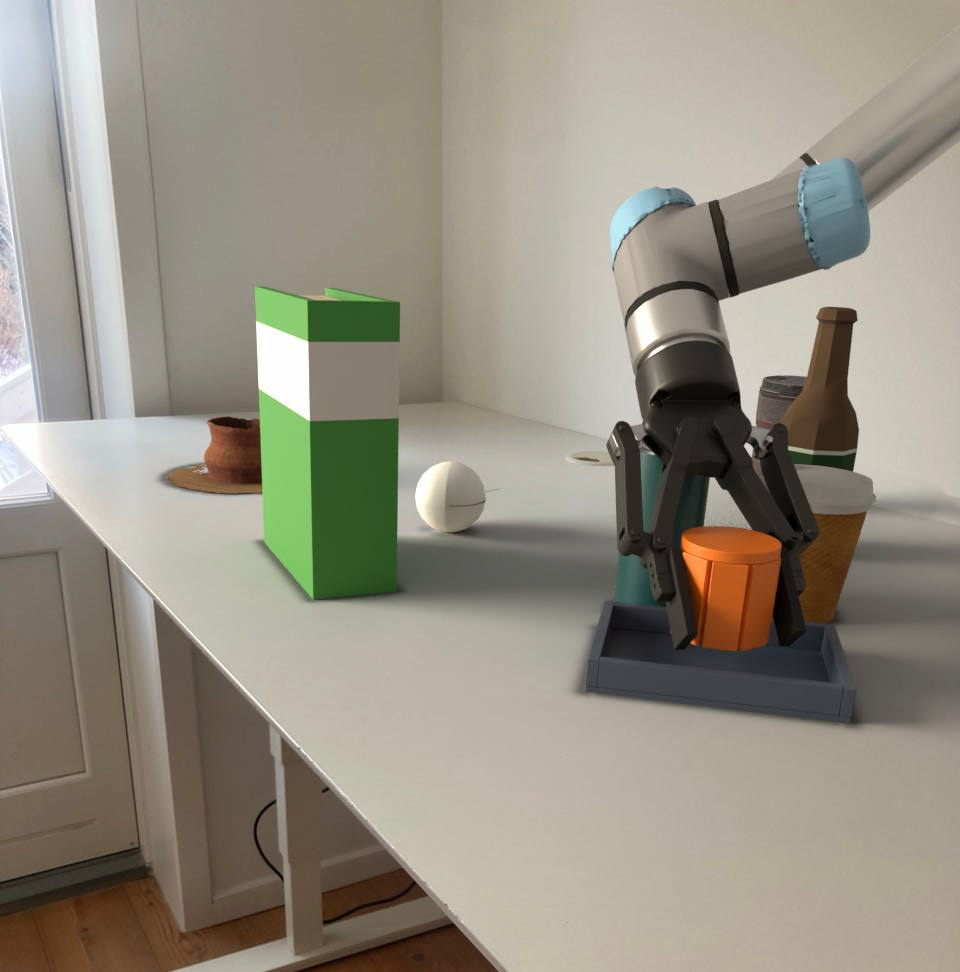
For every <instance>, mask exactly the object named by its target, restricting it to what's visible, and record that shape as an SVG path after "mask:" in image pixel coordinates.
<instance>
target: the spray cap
mask: <svg viewBox="0 0 960 972" xmlns="http://www.w3.org/2000/svg"><path fill="white" fill-rule="evenodd" d="M680 548H682V553H683V558H684V563H685V568H686V574H687V579H688V584H689V589H690V594H691V599H692V605H693V610H694V615H695V620H696V625H697V630H698V635H697V636H696V637H695V638H694V639H693V640H692V641H691V644H693V645H695V646H698V645H702V648H711V649H719V650H728V651H737V649H738V650H740V651H745V650H749V649H753V648H757V647H761V646H765V645H766V644H768V640H769V634H770V628H771V621H772V615H773V609H774V602H775V596H776V590H777V583H778V577H779V571H780V564H781V558H780V554H781V548H782V544H781V542H780V541H779V540H777V539H776V538H774V537H772V536H770V535H767V534H765V533H761V532H758V531H754V530H752V529H748V528H743V527H734V526H721V525H707V526H706V525H704V527H696V528H692V529H688V530H686V531H684V532H683V534H682V538H681V546H680Z"/></svg>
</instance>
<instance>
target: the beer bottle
mask: <svg viewBox="0 0 960 972" xmlns="http://www.w3.org/2000/svg"><path fill="white" fill-rule="evenodd" d="M817 312H818V313H817V314H816V316H815V319H816V320H817V321H818V324H817V329H816V334H815V339H814V343H813V348H812V351H811V352H812V353H811V356H810V360H809V361H810V362H809V366H808V370H807V375H806V377H807V378H806V381H805V384H804V387H803V390H802V392H801V393H800V394H799V396H798V397H797V398H796V399H795V400H794V401H793V403H792V404H791V405H790V406H789V407H788V409H787V411H786V413H785V415H784V417H783V419H782V421H781V424H784V425H785V426H786V427H787V429H788V450H789V453H790V456H791V458H792V461H793V463H794V464H797V465H815V466H824V467H832V468H838V469H843V470H848V471H852V472H854V470H855V464H856V458H857V451H858V444H859V435H860V427H859V421H858V417H857V412H856V410H855V408H854V406H853V403H852V402H851V399H850V397H849V391H848V390H849V389H848V387H849V385H848V384H849V383H848V382H849V381H848V380H849V379H848V378H849V369H850V360H851V350H852V340H853V332H854V331H853V330H854V324H855V323H856V322H858V312H857V310H856V309H854V308H852V307H843V306H824V307H820V308H819V310H818V311H817Z"/></svg>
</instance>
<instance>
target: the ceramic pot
mask: <svg viewBox="0 0 960 972" xmlns="http://www.w3.org/2000/svg"><path fill="white" fill-rule="evenodd" d="M206 424H207V425H208V428H209V433H210V438H211V439H210V443H209V444H208V446H207V448H206V450H205V452H204V453H203V459H204V465H201V464H193V465H192V466H190V467H182V468H178V469H174V470H172V472H170V473H168V474H167V476H166V477H165V480H168V481H169V482H170V484H172V485H175V486H176V487H181V488H186V489H188V490H191V491H193V490H196V491H199V492H207V493H216V494H221V493H222V494H263V490H262V464H261V437H260V418H254V417H253V418H252V419H246V418H244V417H242V418H238V417H233V416H218V417H212V418H210V419H208V420H206ZM205 469H206V470H207V472H205V471H204V470H205Z"/></svg>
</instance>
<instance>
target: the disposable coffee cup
mask: <svg viewBox="0 0 960 972" xmlns="http://www.w3.org/2000/svg"><path fill="white" fill-rule="evenodd" d="M794 466H795V469H796V471H797V474H798V476H799V479H800V481H801V484H802V487H803V489H804V492H805V494H806V497H807V499H808V502H809V505H810V507H811V510H812V512H813V515H814V517H815V520H816V523H817V525H818V528H819V531H820V534H819V536H818V537H817V538H816V539H815V541H814V542H813V543H812V544H811V545H810V546H809V547H808V548H807V549H806V550H805V551H804V552H803V553H802V554H798V555H799V559H800V563H801V567H802V572H803V575H804V576H803V577H804V580H805V590H804V591H803V592H802V593H801V594H800V595H799V596H798V597H799V601H800V605H801V609H802V613H803V618H804V621H805V622H815V623H823V624H829V623H830V622H831V621H833V620H834V617H835V613H836V610H837V607H838V605H839V601H840V598H841V595H842V592H843V588H844V585H845V583H846V580H847V576H848V573H849V571H850V567H851V564H852V560H853V557H854V555H855V551H856V548H857V545H858V542H859V539H860V537H861V533H862V529H863V526H864V523H865V521H866V517H867V513H868V511H870V510H871V508H872V506H873V504H874V503H875V502H876V501H877V496H876V494H875V493H874V482H873V479H872V478H870V477H869V476H867V475H866V474H862V473H860V472H856V471H853V472H852V471H848V470H843V469H838V468H832V467H824V466H815V465H797V464H794ZM760 480H761V481H762V483H763V484H764V486H765V487H766V489H767V490H768V488H767V485H766V482H765V480H764V477H763V474H762V476H761V479H760ZM768 492H769V490H768ZM772 618H773V615H772Z"/></svg>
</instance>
